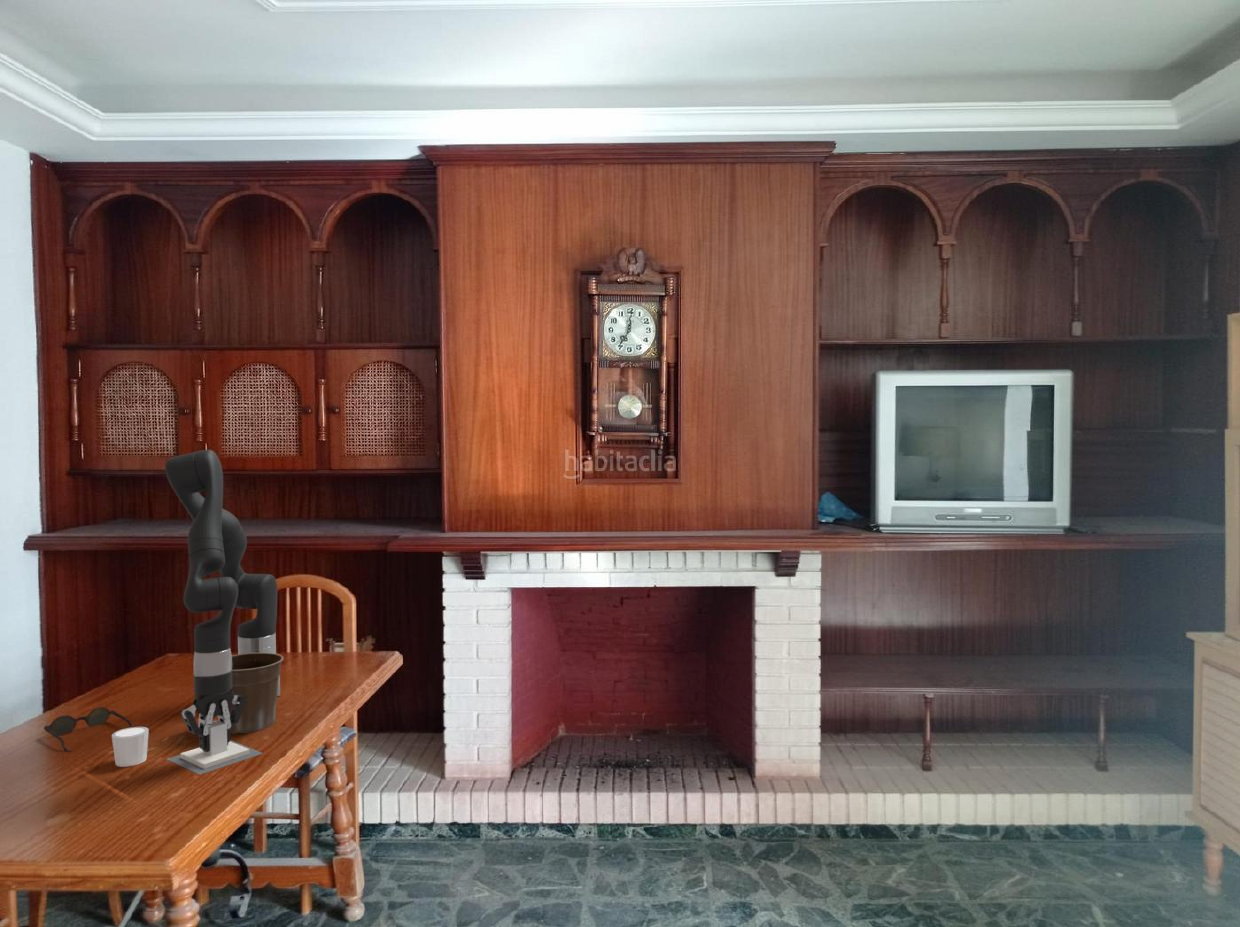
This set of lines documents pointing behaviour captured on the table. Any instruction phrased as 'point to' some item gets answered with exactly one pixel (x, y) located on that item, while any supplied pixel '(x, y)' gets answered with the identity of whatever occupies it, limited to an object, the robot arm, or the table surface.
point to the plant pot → (255, 689)
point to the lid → (216, 748)
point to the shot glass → (130, 746)
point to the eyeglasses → (69, 723)
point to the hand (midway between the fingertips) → (215, 747)
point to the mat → (199, 770)
